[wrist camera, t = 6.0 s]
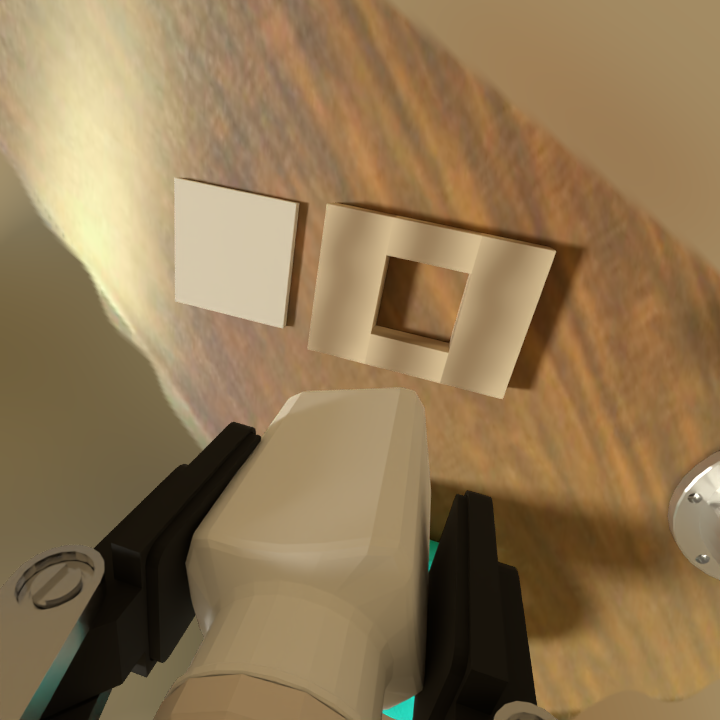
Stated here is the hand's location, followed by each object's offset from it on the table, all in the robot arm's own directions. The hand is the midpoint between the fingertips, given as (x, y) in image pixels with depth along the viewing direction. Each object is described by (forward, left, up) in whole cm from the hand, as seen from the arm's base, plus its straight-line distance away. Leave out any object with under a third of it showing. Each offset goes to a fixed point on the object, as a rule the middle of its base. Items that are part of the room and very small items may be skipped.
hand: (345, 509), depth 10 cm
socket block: (0, 0, -21) cm, 21 cm away
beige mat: (+14, 0, -21) cm, 25 cm away
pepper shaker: (0, 0, -3) cm, 3 cm away
